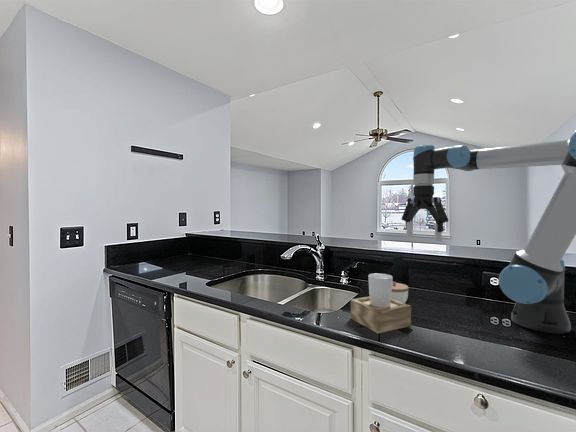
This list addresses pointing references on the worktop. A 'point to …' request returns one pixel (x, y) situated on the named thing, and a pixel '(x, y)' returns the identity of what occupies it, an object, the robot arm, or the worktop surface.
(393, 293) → the lidded jar
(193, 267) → the worktop surface
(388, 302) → the white cup
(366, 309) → the wooden box
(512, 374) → the worktop surface
